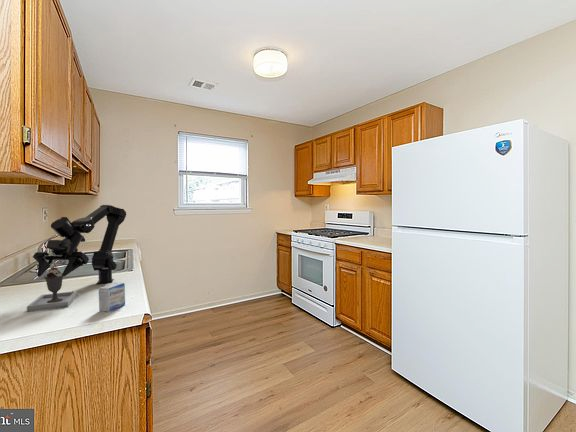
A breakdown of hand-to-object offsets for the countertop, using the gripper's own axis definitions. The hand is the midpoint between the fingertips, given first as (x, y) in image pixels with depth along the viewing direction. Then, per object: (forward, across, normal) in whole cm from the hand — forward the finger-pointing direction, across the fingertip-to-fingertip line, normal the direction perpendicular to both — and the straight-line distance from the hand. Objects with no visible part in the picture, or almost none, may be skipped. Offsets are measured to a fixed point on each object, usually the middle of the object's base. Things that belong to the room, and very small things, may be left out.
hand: (50, 276), depth 111 cm
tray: (+7, 0, +9) cm, 11 cm away
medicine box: (+12, +26, +4) cm, 29 cm away
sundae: (+6, 0, +8) cm, 11 cm away
